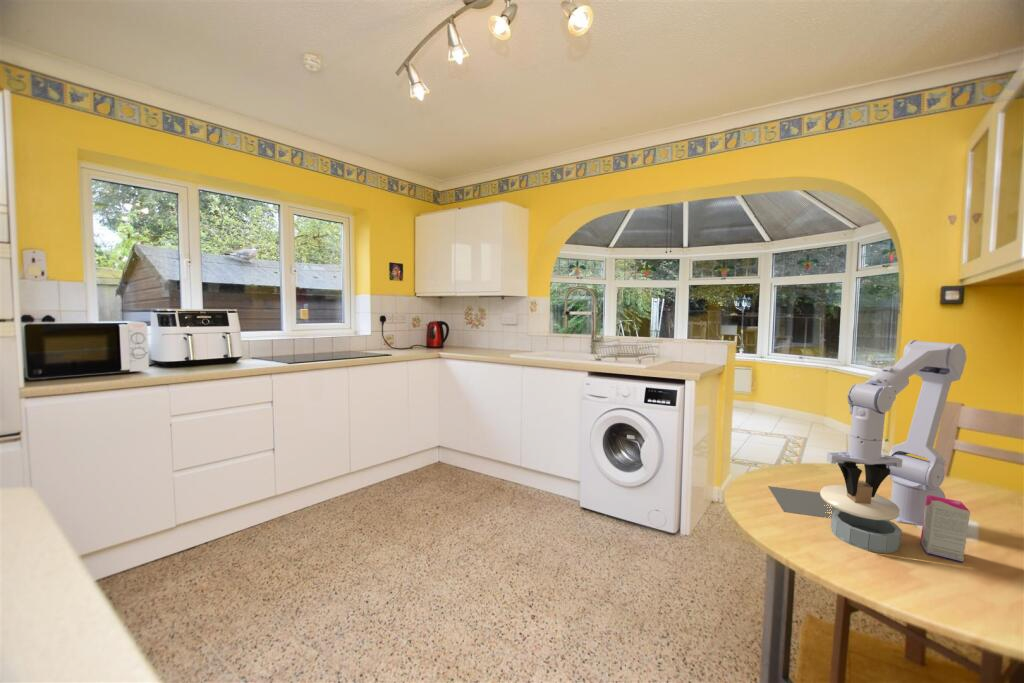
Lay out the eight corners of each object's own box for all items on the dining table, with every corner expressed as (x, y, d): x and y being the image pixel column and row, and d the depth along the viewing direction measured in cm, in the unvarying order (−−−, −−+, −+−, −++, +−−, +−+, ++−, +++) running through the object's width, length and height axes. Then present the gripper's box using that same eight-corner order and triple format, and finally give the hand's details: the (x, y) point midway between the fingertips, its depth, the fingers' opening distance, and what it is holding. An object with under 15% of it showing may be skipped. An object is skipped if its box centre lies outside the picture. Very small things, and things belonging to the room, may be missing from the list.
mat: (833, 495, 123) (833, 494, 123) (858, 523, 107) (858, 521, 107) (767, 487, 127) (768, 486, 127) (783, 512, 112) (783, 511, 112)
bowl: (882, 530, 104) (884, 513, 104) (911, 558, 93) (913, 540, 93) (823, 521, 108) (824, 505, 108) (843, 548, 97) (845, 530, 96)
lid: (871, 490, 108) (874, 471, 108) (916, 522, 94) (919, 501, 94) (807, 486, 110) (810, 468, 109) (842, 517, 96) (845, 496, 95)
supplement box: (964, 564, 91) (971, 511, 90) (925, 555, 94) (931, 503, 93) (955, 551, 96) (961, 500, 95) (919, 542, 99) (924, 493, 98)
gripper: (888, 433, 103) (883, 489, 104) (821, 429, 105) (816, 485, 106) (912, 443, 96) (905, 503, 98) (839, 439, 98) (833, 498, 99)
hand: (860, 494), depth 101 cm, fingers closed on lid, 3 cm apart
